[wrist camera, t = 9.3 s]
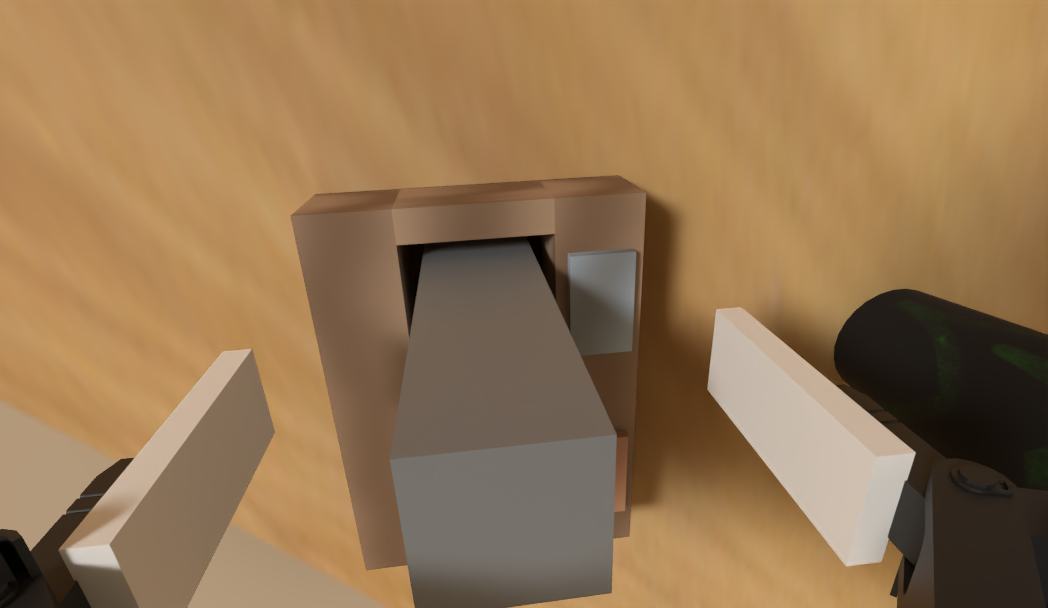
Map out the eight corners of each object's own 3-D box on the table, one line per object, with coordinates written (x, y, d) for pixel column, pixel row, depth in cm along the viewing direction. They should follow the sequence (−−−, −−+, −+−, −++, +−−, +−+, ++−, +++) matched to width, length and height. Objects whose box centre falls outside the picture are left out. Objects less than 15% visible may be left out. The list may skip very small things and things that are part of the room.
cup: (905, 418, 29) (1180, 626, 18) (786, 390, 27) (1010, 601, 16) (990, 289, 27) (1370, 441, 16) (865, 249, 25) (1193, 388, 14)
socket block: (618, 175, 22) (650, 194, 18) (609, 484, 28) (632, 543, 25) (315, 194, 21) (286, 218, 17) (376, 512, 27) (364, 577, 24)
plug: (523, 230, 22) (616, 434, 10) (526, 317, 24) (611, 593, 11) (425, 237, 22) (389, 459, 9) (436, 325, 24) (417, 620, 11)
